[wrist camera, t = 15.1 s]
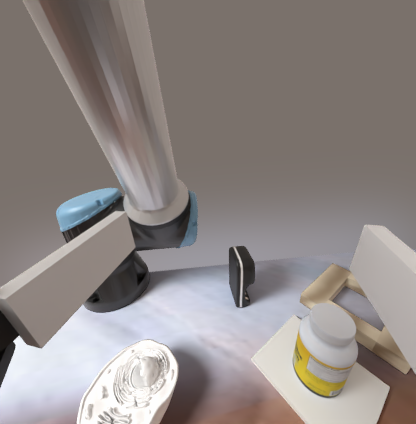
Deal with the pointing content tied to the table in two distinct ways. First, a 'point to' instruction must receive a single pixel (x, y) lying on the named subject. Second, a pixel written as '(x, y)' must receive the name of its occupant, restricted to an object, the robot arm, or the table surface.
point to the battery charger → (240, 274)
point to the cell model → (132, 387)
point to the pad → (308, 402)
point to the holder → (365, 333)
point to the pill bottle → (325, 350)
